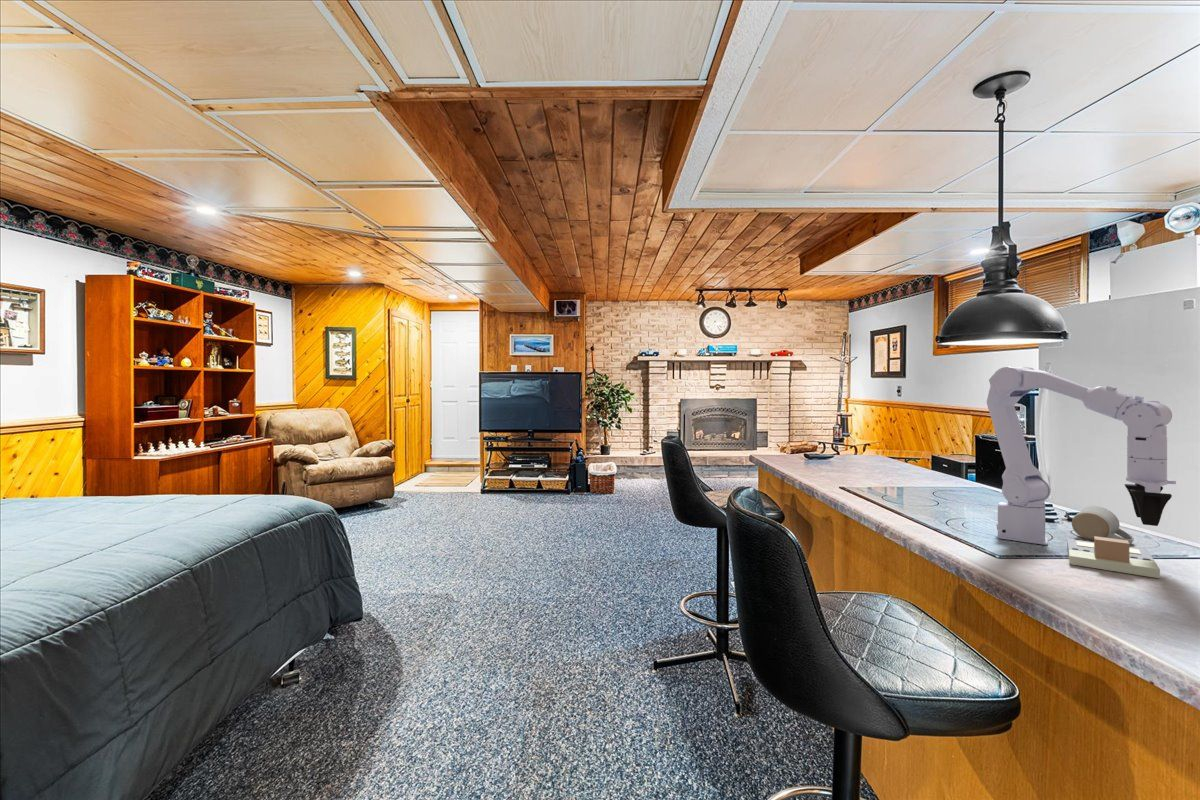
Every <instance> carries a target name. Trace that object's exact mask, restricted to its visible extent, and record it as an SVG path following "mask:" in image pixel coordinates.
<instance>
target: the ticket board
mask: <svg viewBox="0 0 1200 800" xmlns="http://www.w3.org/2000/svg"><path fill="white" fill-rule="evenodd" d="M1066 548H1067V555H1068V557H1069V549H1072V550H1078V551H1085V552H1092V553H1094V541H1089V540H1088V541H1086V540H1079V539H1074V538H1073V539H1072V538H1067V539H1066ZM1129 558H1134V559H1141V560H1148V561H1155V559H1154V558H1153V556H1152V554H1151V553H1150V552H1149V550H1148V549H1147V548H1138V547H1133V546H1131V547H1130V546H1129Z"/></svg>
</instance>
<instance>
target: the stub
mask: <svg viewBox="0 0 1200 800" xmlns="http://www.w3.org/2000/svg"><path fill="white" fill-rule="evenodd" d="M1093 542H1094V553H1092V552H1085V551H1078V550H1072V549H1069V556H1068V563H1069V565H1074V566H1079V567H1087V568H1091V569H1098V570H1105V571H1111V572H1116V573H1117V572H1118V573H1124V574H1130V575H1136V576H1143V577H1149V578H1156V579H1161V569H1160V567H1159V566H1158V564H1157V563H1156V561H1155V560H1154V561H1148V560H1141V559H1134V558H1129V547H1130V545H1129V542H1128V540H1120V539H1112V538H1105V537H1097V536H1094V540H1093Z"/></svg>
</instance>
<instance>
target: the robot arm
mask: <svg viewBox="0 0 1200 800" xmlns="http://www.w3.org/2000/svg"><path fill="white" fill-rule="evenodd" d="M988 382H989V385H990V387H989V390H988V395H987V398H986V405H987V409H988V412H989V415H990V418H991V422H992V426H993V429H994V432H995V435H996V436H995V437H996V439H997V442H998V446H999V449H1000V452H1001V457H1002V459H1003V463H1004V466H1005V470H1004V471H1003V473H1002V475H1001V479H1002V486H1001V493H1002V496H1003V498H1004V499H1005V500H1007V502H1005V501H1004V502H1003V501H999V502H998V503H997V523H996V531H997V538H998V539H1003V540H1009V541H1014V542H1015V541H1016V542H1022V543H1029V544H1036V545H1037V544H1038V545H1044V546H1047V545H1048V543H1049V542H1048V539H1049V538H1048V536H1046V500H1047V499H1049V497H1050V495H1051V490H1052V489H1051V486H1050V484H1049V483H1048V482H1047V481H1046V480H1045V479H1044V477H1043V476H1042V473H1041V471H1040V470H1039V469H1038V467H1036V466H1035V465H1034V464H1033V462H1032V458H1031V456H1030V452H1029V449H1028V445H1027V442H1026V438H1025V437H1024V432H1023V430H1022V425H1021V423H1020V420H1019V417H1018V414H1017V410H1016V408H1015V407H1016V406H1015V405H1016V404H1017V403H1018V402H1019V401H1020V399H1022V398H1023V396H1025V395H1027V394H1029V393H1030V392H1032V391H1034V390H1036V389H1046V390H1049V391H1051V392H1055V393H1058V394H1060V395H1064V396H1067V397H1070V398H1073V399H1076V400H1079V401H1081V402H1082V403H1083V405H1084V408H1086V409H1087V410H1091V411H1093V412H1096V413H1099V414H1102V415H1104V416H1107V417H1109V418H1112V419H1114V420H1117V421H1121V422H1123V424H1124V425H1126V426H1127V435H1126V436H1127V437H1126V446H1127V447H1126V452H1127V453H1126V457H1127V459H1126V460H1127V461H1126V462H1127V463H1126V473H1127V474H1126V475H1127V476H1125V481H1127V482H1129V483H1125V484H1124V487H1125V488H1126V490H1127V491H1128V494H1129V496H1130V499H1131V502H1132V506H1133V510H1134V513H1135V515H1136V518H1140V520H1141V523H1142V525H1146V526H1153V527H1154V526H1155V527H1158V526H1159V523H1160V522H1161V518H1162V514H1163V512H1164V509H1165V506H1167V504H1168V502H1169V501H1170V500H1171V499H1172V497H1173V496H1172V494H1171V493H1162V491H1163V490H1164V486H1166V485H1169V484H1170V485H1176V484H1177V481H1176V480H1175V479H1169V478H1168V437H1167V436H1168V434H1167V433H1168V431H1167V427H1168V426H1167V425H1168V424H1169V423H1170V422H1171V421H1172V418H1173V413H1172V410H1171V409H1170V408H1169V407H1168V406H1167V405H1165V404H1164V403H1161V402H1160V401H1159V400H1158V401H1157V400H1148V401H1145V400H1144V398H1145V397H1143V396H1141V395H1135V396H1134V395H1132V394H1131V395H1130V394H1127V393H1124V392H1122V391H1118V390H1117V389H1118V388H1117V386H1113V385H1107V386H1104V385H1100V386H1096V387H1089V386H1086V385H1084V384H1080V383H1078V382H1075V381H1073V380H1070V379H1068V378H1066V377H1065V378H1064V377H1062V376H1059V375H1057V374H1054V373H1051V372H1049V371H1045V370H1042V369H1035V368H1033V367H1029V366H1023V367H1012V366H1004V367H1000V368H998V369H997V370H996V371H995V372H994V373H993V375H992V376H991V377H990V378H989V379H988Z"/></svg>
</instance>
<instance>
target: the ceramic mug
mask: <svg viewBox="0 0 1200 800" xmlns="http://www.w3.org/2000/svg"><path fill="white" fill-rule="evenodd" d="M1120 525H1121V524H1120V520H1119V518H1118V517H1117V515H1116V514H1114V512H1112V511H1111V510H1109V509H1107V508H1106V507H1105V508H1104V507H1102V506H1097V505H1091V506H1090V505H1089V506H1087V507H1084V508H1082V509H1081V510H1080V511H1079V512H1078V513H1076V514H1075V515H1074V516H1073V518H1072V520H1071V526H1072V530H1073V531H1074V532H1075V533H1076V534H1077V535H1078V536H1079V537H1081V538H1083V539H1086V540H1088V541H1094V536H1097V537H1105V538H1112V539H1120V540H1128V542H1129V546H1130V545H1132V544H1133V542H1134V540H1135V538H1134V537H1133V536H1132V535H1131V534H1129V533H1128V532H1127V531H1125V530H1124V529H1121V528H1120Z"/></svg>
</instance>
